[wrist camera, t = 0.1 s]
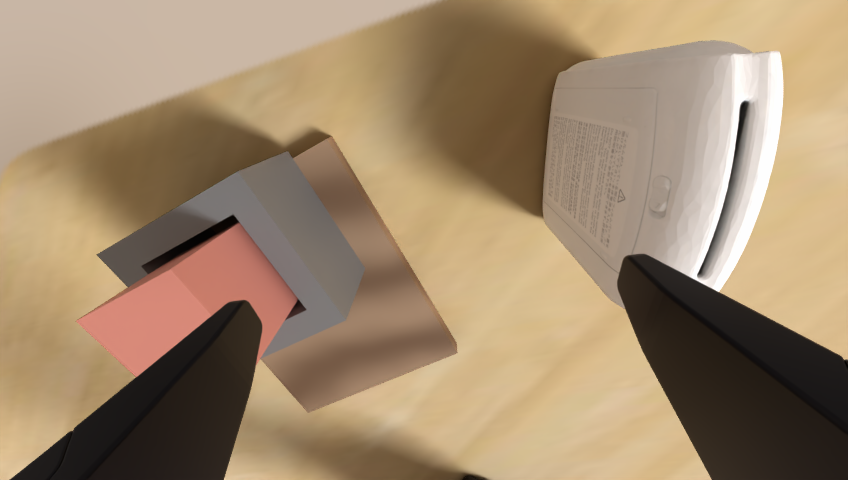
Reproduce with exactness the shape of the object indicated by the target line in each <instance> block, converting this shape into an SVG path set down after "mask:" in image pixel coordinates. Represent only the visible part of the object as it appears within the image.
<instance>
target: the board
mask: <svg viewBox="0 0 848 480" xmlns="http://www.w3.org/2000/svg"><path fill="white" fill-rule="evenodd" d="M293 159H294V161H295V163H296V164H297V166H298V167H299V169H300V170H301V172H302V173H303V175H304V176H305V178H306V179H307V181H308V182H309V184H310V185H311V187H312V188H313V190H314V191H315V193H316V194H317V196H318V197H319V199H320V200H321V202H322V203H323V205H324V207H325V208H326V210H327V211H328V213H329V214H330V216H331V217H332V219H333V220H334V222H335V223H336V225H337V226H338V228H339V229H340V231H341V232H342V234H343V235H344V237H345V238H346V240H347V241H348V243H349V244H350V246H351V247H352V249H353V251H354V252H355V254H356V255H357V257H358V258H359V260H360V261H361V263H362V264H363V266H364V267H365V271H364V273H363V276H362V279H361V282H360V284H359V287H358V290H357V292H356V295H355V298H354V300H353V303H352V306H351V308H350V311H349V314H348V317H347V319H346V321H343V322H341V323H339V324H337V325H335V326H332V327H330V328H328V329H326V330H323V331H321V332H319V333H317V334H315V335H312V336H310V337H308V338H306V339H303V340H301V341H299V342H297V343H295V344H292V345H290V346H288V347H286V348H284V349H281V350H279V351H277V352H275V353H272V354H270V355H268V356H266V357H264V358H261V360H262V361H263V362H264V363H265V364H266V366H267V367H268V368H269V369H270V370H271V371H272V372H273V373H274V375H275V376H276V377H277V378H278V379H279V380H280V381H281V383H282V384H283V385H284V386H285V387H286V388H287V389H288V390H289V392H290V393H291V394H292V395H293V396H294V397H295V398H296V400H297V401H298V402H299V403H300V404H301V405H302V406H303V408H304V409H305V410H306V411H307V412H308V413H309V412H311V411H314V410H316V409H319V408H321V407H324V406H326V405H329V404H331V403H334V402H336V401H339V400H341V399H344V398H346V397H349V396H351V395H354V394H356V393H359V392H361V391H364V390H366V389H369V388H371V387H374V386H376V385H379V384H381V383H384V382H386V381H389V380H391V379H394V378H396V377H399V376H401V375H404V374H406V373H409V372H411V371H414V370H416V369H419V368H421V367H424V366H426V365H429V364H431V363H434V362H436V361H439V360H441V359H444V358H446V357H449V356H451V355H454V354H456V353H457V344H456V341H455V340H454V338H453V336H452V335H451V333H450V331H449V330H448V328H447V326H446V325H445V323H444V321H443V320H442V318H441V316H440V315H439V313H438V311H437V310H436V308H435V306H434V305H433V303H432V301H431V300H430V298H429V297H428V295H427V293H426V292H425V290H424V288H423V287H422V285H421V283H420V282H419V280H418V278H417V277H416V275H415V273H414V272H413V270H412V268H411V267H410V265H409V263H408V262H407V260H406V258H405V257H404V255H403V253H402V252H401V250H400V248H399V247H398V245H397V243H396V242H395V240H394V238H393V237H392V235H391V234H390V232H389V230H388V229H387V227H386V225H385V224H384V222H383V220H382V219H381V217H380V215H379V214H378V212H377V210H376V209H375V207H374V205H373V204H372V202H371V200H370V199H369V197H368V195H367V194H366V192H365V190H364V189H363V187H362V185H361V184H360V182H359V180H358V179H357V177H356V175H355V174H354V172H353V170H352V169H351V167H350V166H349V164H348V162H347V161H346V159H345V157H344V156H343V154H342V152H341V151H340V149H339V147H338V146H337V144H336V142H335V141H334V139H333V137H330V138H327V139H325V140H324V141H322V142H320V143H318V144H317V145H315V146H313V147H312V148H310V149H308V150H306V151H305V152H303V153H301V154H299V155H298V156H296V157H294V158H293ZM237 222H239V221H238V220H237V218H236V217H235V216H234V214H233V215H231V216H229V217H227V218H226V219H224V220H222V221H220V222H218V223H217V224H215V225H213V226H211V227H212V228H213V230H214V231H215V232H216V233H219V232H221V231H223V230H225V229H227V228H228V227H230V226H232V225H234V224H236V223H237Z"/></svg>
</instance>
